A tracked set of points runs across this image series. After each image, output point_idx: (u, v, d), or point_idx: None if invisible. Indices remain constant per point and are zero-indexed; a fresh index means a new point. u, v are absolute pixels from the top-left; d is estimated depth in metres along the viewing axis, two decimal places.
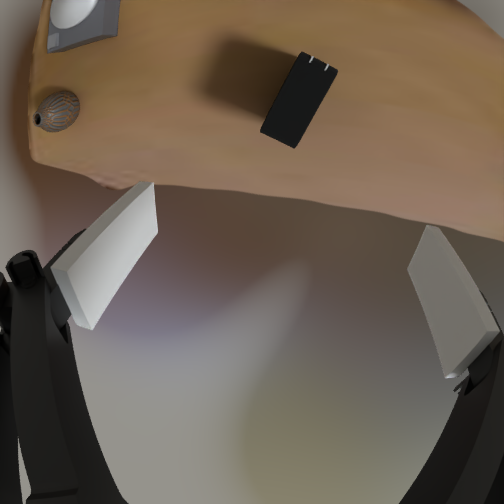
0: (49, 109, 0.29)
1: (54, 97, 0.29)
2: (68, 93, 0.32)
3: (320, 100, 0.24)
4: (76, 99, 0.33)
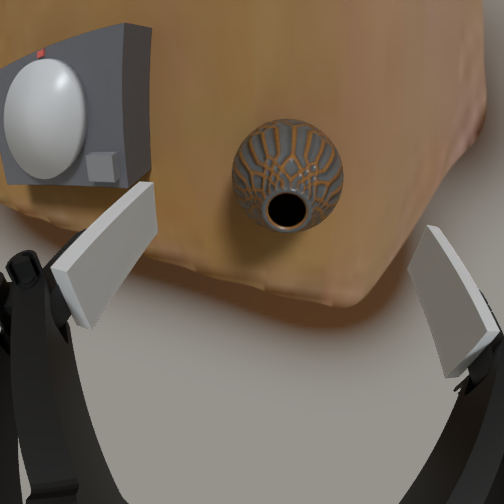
0: (273, 165, 0.13)
1: (243, 154, 0.15)
2: None
3: None
4: None
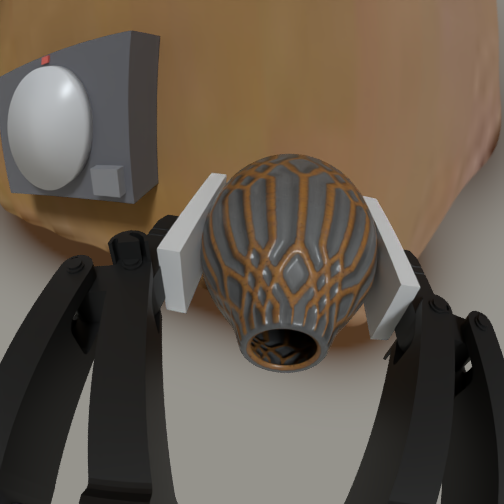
0: (262, 264, 0.07)
1: (213, 228, 0.09)
2: None
3: None
4: None
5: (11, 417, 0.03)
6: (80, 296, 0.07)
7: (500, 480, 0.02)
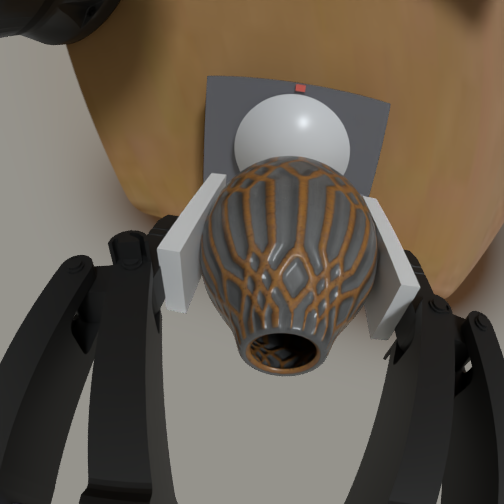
0: (262, 268, 0.07)
1: (213, 231, 0.09)
2: None
3: None
4: None
5: (11, 417, 0.03)
6: (80, 296, 0.07)
7: (500, 480, 0.02)
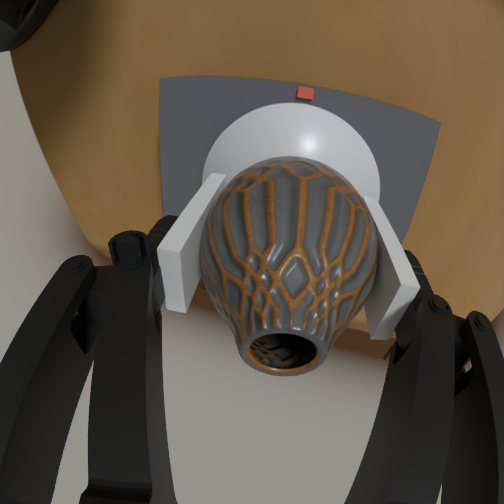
0: (262, 268, 0.07)
1: (213, 231, 0.09)
2: None
3: None
4: None
5: (11, 417, 0.03)
6: (80, 296, 0.07)
7: (500, 480, 0.02)
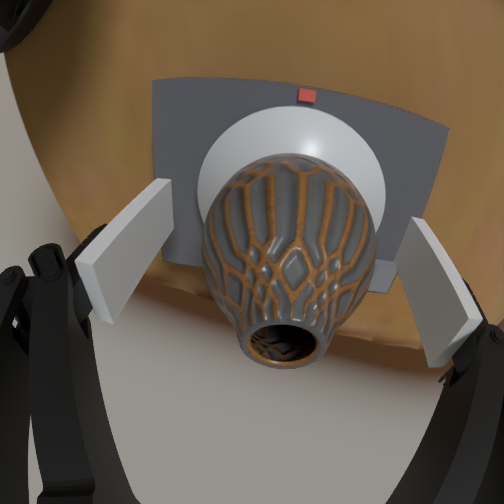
0: (262, 261, 0.07)
1: (214, 226, 0.09)
2: None
3: None
4: None
5: None
6: (16, 302, 0.06)
7: None
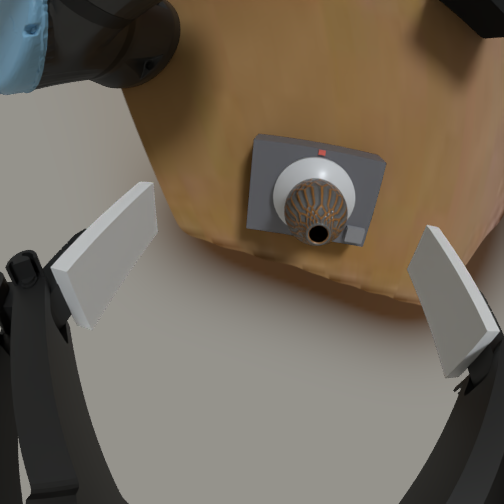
0: (311, 210, 0.26)
1: (294, 202, 0.27)
2: (294, 187, 0.29)
3: None
4: (307, 179, 0.30)
5: None
6: None
7: None
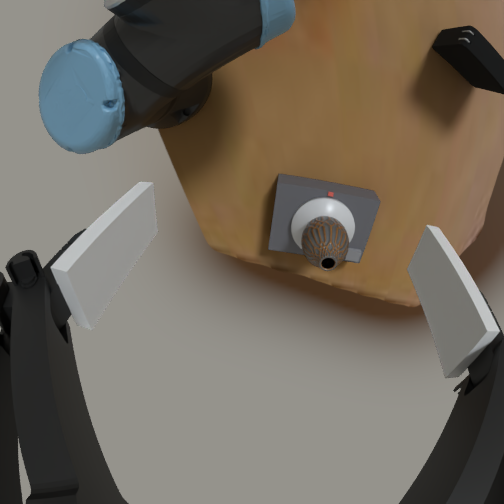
0: (323, 245, 0.36)
1: (310, 237, 0.37)
2: (309, 224, 0.39)
3: (491, 46, 0.17)
4: (319, 217, 0.39)
5: None
6: None
7: None
